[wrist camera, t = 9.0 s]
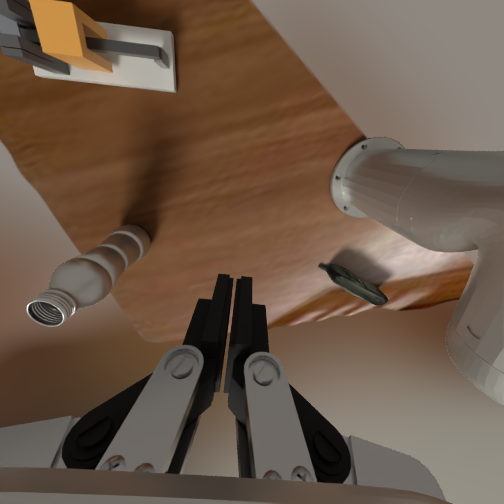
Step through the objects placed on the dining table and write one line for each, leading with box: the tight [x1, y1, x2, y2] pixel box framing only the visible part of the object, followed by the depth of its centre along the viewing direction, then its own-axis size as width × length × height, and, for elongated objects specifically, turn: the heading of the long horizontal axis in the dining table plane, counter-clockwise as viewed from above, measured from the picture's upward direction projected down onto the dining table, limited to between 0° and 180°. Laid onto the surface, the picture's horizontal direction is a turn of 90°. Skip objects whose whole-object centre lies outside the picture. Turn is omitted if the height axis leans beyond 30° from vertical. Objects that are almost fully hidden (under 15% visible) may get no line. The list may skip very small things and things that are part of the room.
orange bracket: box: [29, 0, 113, 73], centre depth 23 cm, size 4×4×6 cm
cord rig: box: [0, 0, 177, 93], centre depth 24 cm, size 18×6×8 cm, turn 85°
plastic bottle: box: [26, 225, 150, 327], centre depth 31 cm, size 6×7×20 cm
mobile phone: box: [318, 265, 388, 305], centre depth 43 cm, size 5×3×15 cm
